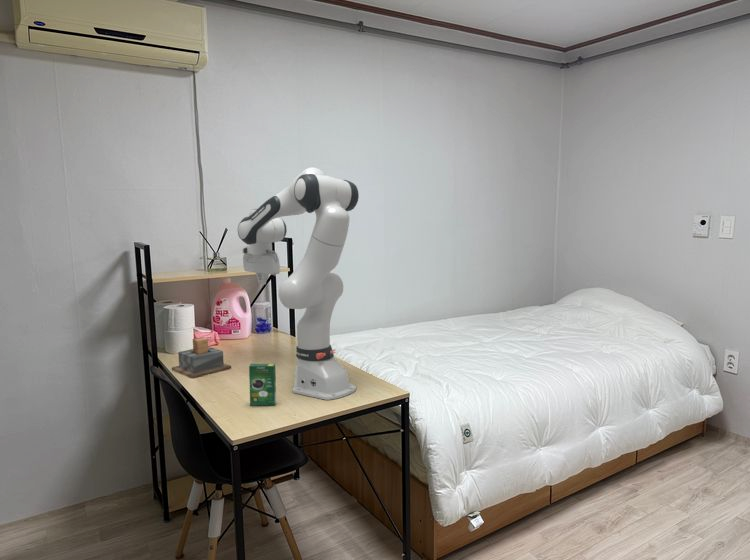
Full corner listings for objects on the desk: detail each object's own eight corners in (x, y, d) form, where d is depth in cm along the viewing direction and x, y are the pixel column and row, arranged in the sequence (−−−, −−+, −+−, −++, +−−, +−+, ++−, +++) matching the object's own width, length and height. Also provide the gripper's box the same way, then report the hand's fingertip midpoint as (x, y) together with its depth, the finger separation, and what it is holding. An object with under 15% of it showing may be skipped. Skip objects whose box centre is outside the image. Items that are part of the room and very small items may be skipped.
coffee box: (277, 402, 165) (275, 362, 163) (275, 406, 162) (274, 365, 160) (252, 403, 165) (250, 362, 163) (249, 406, 162) (247, 365, 160)
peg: (209, 364, 200) (207, 338, 199) (199, 366, 197) (197, 340, 196) (203, 362, 203) (202, 337, 202) (194, 364, 200) (192, 339, 199)
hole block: (231, 368, 201) (230, 350, 200) (192, 378, 189) (191, 360, 188) (209, 360, 212) (208, 344, 211) (171, 369, 200) (170, 352, 199)
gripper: (283, 250, 202) (284, 285, 204) (252, 248, 216) (254, 281, 217) (269, 251, 197) (271, 287, 199) (239, 249, 211) (241, 282, 213)
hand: (262, 284), depth 208 cm, fingers closed
